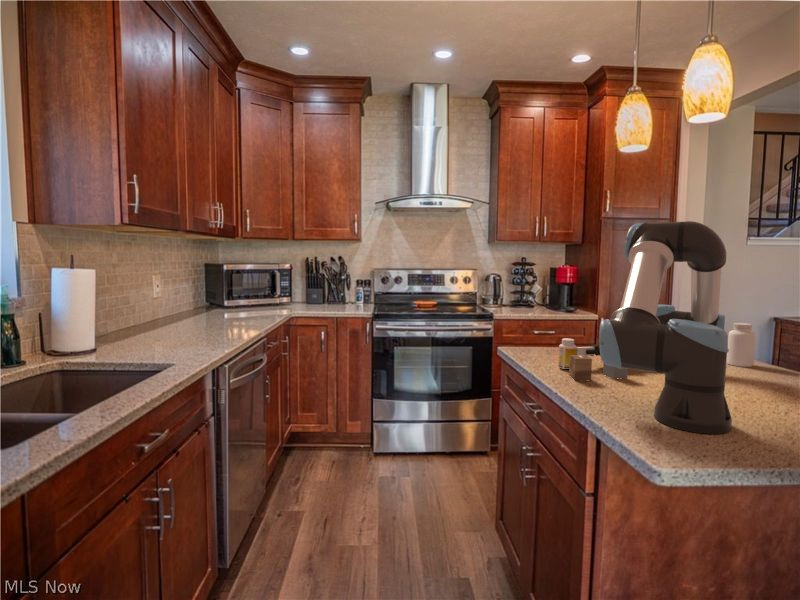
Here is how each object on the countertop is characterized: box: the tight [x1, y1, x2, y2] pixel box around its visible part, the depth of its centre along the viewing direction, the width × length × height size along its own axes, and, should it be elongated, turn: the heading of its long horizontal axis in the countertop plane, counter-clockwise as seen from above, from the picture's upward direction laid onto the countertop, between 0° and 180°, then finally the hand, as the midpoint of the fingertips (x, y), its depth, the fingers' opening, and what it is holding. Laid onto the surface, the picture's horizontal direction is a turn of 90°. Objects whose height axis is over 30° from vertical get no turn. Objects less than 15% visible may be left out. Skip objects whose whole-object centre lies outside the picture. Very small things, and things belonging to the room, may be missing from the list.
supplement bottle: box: [558, 337, 577, 370], centre depth 156 cm, size 6×6×10 cm
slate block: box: [602, 363, 629, 380], centre depth 146 cm, size 5×5×7 cm
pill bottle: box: [726, 322, 757, 368], centre depth 165 cm, size 8×8×15 cm
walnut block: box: [568, 355, 593, 381], centre depth 143 cm, size 5×5×7 cm
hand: (576, 351), depth 157 cm, fingers closed
